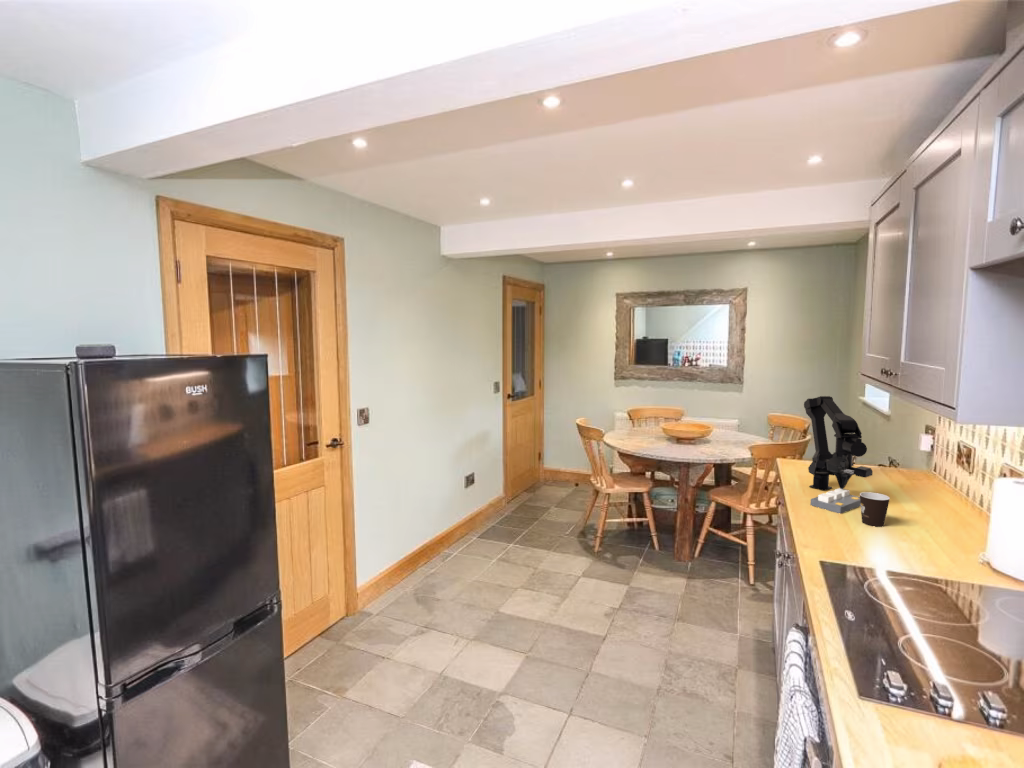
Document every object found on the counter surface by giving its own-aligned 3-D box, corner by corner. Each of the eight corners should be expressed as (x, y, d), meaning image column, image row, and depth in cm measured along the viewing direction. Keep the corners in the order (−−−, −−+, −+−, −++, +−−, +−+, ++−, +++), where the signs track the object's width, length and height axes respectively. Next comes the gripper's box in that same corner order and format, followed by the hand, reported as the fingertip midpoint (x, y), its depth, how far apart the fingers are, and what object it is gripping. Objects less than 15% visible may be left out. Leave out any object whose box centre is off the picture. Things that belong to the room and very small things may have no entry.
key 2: (839, 495, 206) (839, 488, 205) (849, 497, 202) (849, 490, 202) (834, 496, 204) (834, 489, 203) (844, 499, 200) (844, 492, 200)
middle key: (831, 497, 203) (831, 490, 202) (841, 500, 199) (841, 493, 199) (826, 499, 201) (826, 492, 200) (836, 502, 197) (836, 494, 197)
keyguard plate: (835, 496, 208) (835, 490, 208) (864, 504, 199) (865, 497, 198) (810, 505, 199) (810, 498, 199) (840, 513, 190) (840, 506, 189)
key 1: (823, 500, 200) (823, 493, 199) (833, 503, 196) (833, 495, 196) (817, 502, 198) (818, 495, 197) (828, 505, 194) (828, 497, 194)
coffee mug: (887, 530, 174) (889, 501, 173) (857, 524, 179) (858, 497, 178) (888, 519, 183) (890, 492, 182) (859, 514, 188) (860, 488, 187)
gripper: (808, 448, 205) (806, 486, 206) (859, 458, 189) (857, 499, 191) (823, 444, 210) (822, 481, 212) (874, 454, 194) (872, 493, 196)
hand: (841, 488), depth 203 cm, fingers closed
